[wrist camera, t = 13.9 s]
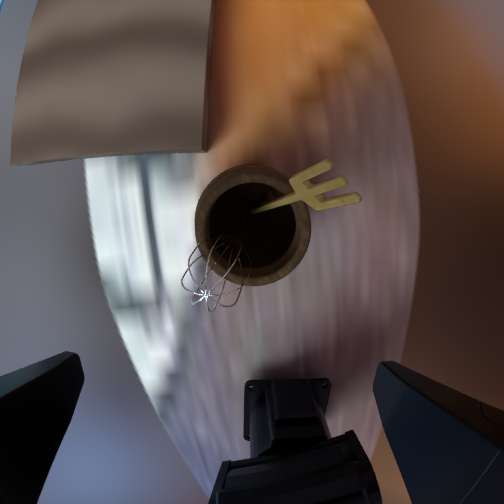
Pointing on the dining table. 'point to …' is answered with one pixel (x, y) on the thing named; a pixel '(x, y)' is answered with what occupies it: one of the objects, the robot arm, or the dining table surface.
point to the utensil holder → (259, 222)
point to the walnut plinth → (113, 80)
